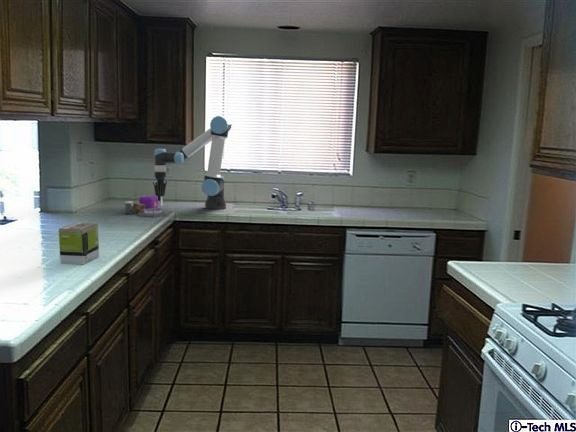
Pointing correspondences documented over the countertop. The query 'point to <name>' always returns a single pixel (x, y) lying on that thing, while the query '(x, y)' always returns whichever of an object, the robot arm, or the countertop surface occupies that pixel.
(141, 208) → the stop bar
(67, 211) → the countertop surface
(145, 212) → the mount
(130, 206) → the lens
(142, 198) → the toy camera
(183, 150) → the robot arm
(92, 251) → the tea box
